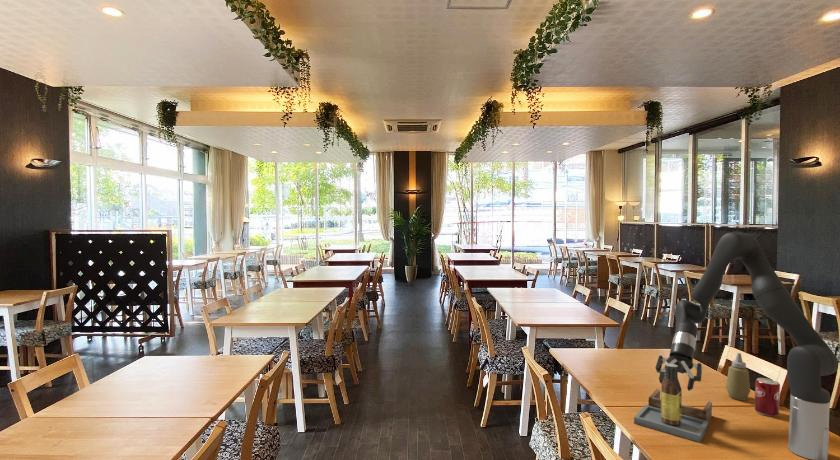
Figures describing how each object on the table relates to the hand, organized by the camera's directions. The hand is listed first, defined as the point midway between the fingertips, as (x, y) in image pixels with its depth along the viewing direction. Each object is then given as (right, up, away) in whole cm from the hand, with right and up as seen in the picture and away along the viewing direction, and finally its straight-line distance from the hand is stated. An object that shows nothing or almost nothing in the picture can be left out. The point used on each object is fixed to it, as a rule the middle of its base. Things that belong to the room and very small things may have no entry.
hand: (675, 386), depth 162 cm
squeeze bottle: (+37, -12, +22) cm, 45 cm away
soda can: (+38, -13, +8) cm, 41 cm away
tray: (-3, -12, -4) cm, 13 cm away
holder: (+6, -12, +7) cm, 15 cm away
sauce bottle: (-4, -11, -4) cm, 12 cm away
